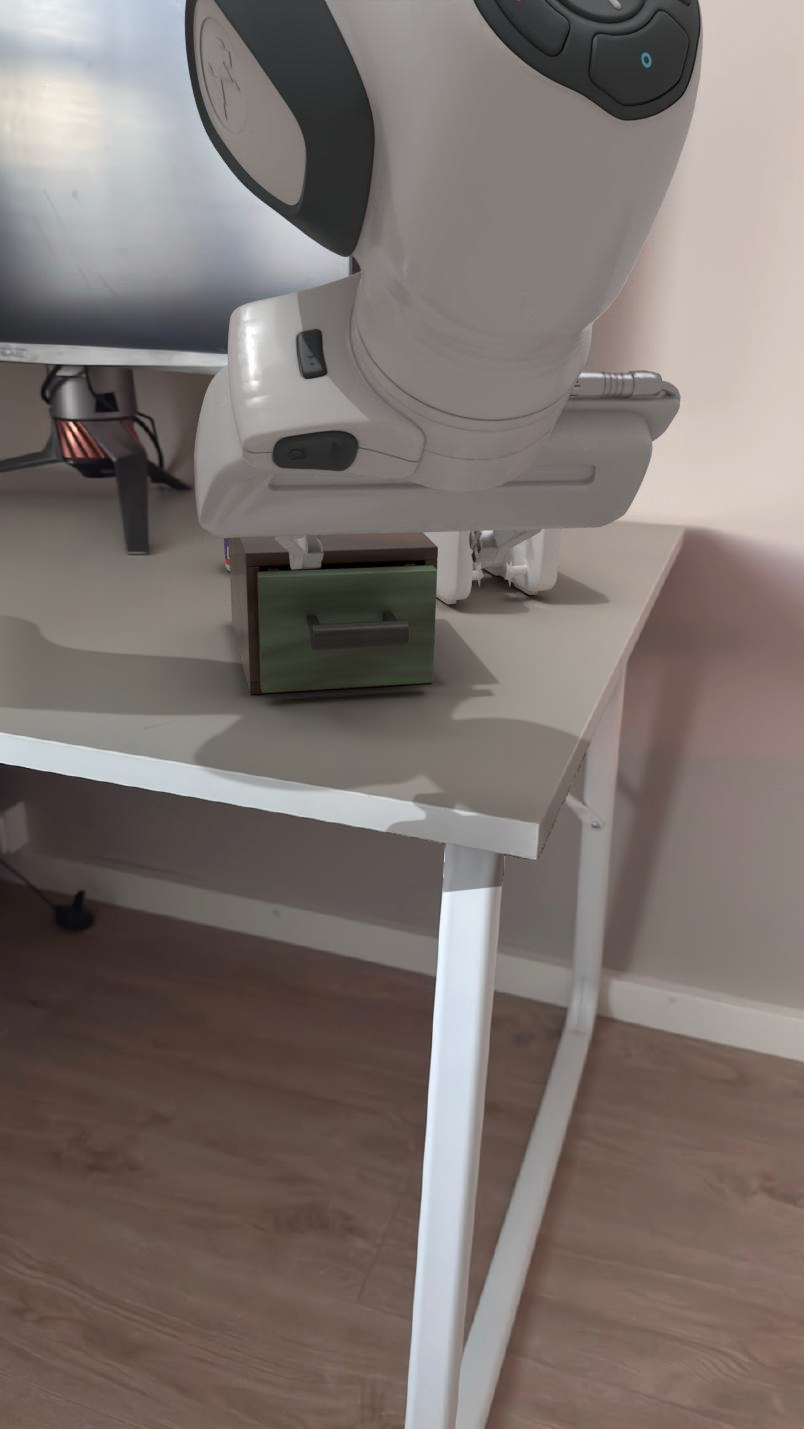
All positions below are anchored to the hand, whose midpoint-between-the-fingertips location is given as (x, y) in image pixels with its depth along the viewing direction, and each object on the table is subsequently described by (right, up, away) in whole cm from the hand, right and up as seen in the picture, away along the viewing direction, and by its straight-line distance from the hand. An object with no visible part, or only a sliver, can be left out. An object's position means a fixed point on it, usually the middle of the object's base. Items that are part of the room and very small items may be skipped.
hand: (395, 554), depth 55 cm
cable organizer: (+7, +4, +44) cm, 44 cm away
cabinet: (-5, -4, +26) cm, 27 cm away
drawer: (-4, -5, +21) cm, 22 cm away
